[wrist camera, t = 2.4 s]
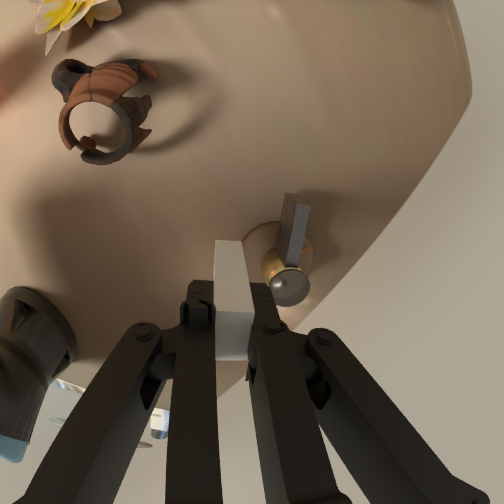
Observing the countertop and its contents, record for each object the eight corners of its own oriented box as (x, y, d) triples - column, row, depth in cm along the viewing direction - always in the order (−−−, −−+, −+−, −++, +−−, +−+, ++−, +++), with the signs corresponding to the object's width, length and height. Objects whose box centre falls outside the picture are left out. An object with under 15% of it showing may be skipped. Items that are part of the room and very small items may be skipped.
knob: (291, 278, 30) (304, 306, 25) (257, 277, 29) (265, 306, 24) (308, 194, 26) (328, 210, 21) (270, 190, 25) (283, 205, 20)
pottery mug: (188, 81, 21) (165, 119, 17) (139, 141, 27) (112, 190, 22) (97, 24, 14) (44, 47, 10) (60, 93, 20) (17, 134, 15)
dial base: (252, 295, 32) (253, 303, 30) (227, 236, 28) (228, 242, 27) (315, 272, 32) (320, 279, 30) (299, 210, 28) (304, 215, 27)
